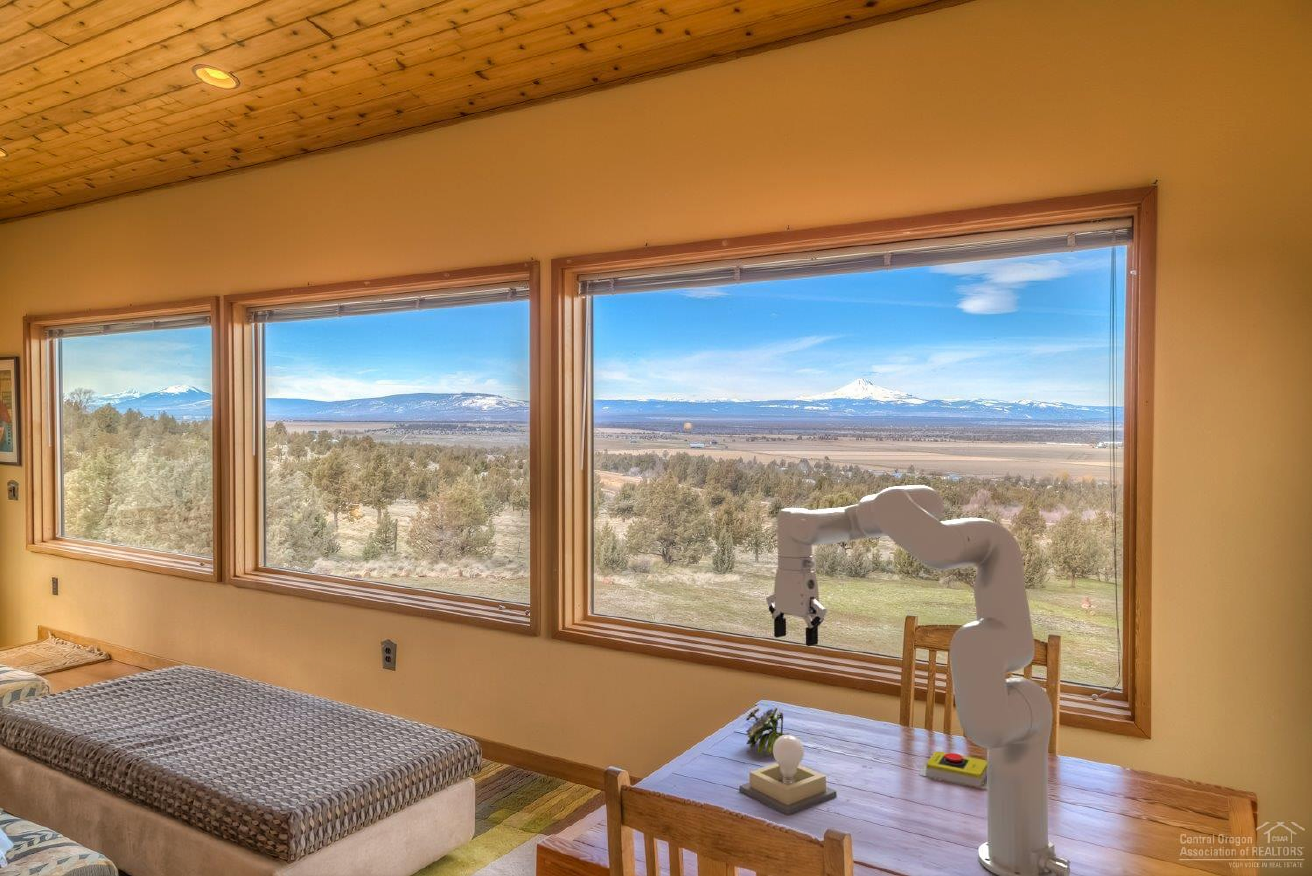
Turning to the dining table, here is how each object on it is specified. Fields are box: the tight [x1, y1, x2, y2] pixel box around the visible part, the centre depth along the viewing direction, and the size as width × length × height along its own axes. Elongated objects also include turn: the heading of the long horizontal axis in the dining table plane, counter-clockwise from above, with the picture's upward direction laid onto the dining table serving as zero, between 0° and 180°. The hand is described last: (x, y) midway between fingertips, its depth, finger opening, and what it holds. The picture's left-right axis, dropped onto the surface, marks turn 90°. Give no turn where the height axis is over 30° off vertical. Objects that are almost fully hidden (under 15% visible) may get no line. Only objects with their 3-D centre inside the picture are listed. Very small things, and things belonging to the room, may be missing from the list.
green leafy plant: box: [745, 707, 790, 758], centre depth 195 cm, size 11×11×12 cm
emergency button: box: [918, 750, 987, 790], centre depth 179 cm, size 9×4×15 cm
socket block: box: [739, 762, 837, 816], centre depth 170 cm, size 14×14×4 cm
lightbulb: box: [772, 734, 805, 785], centre depth 170 cm, size 6×6×11 cm
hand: (795, 640), depth 183 cm, fingers open, 9 cm apart
